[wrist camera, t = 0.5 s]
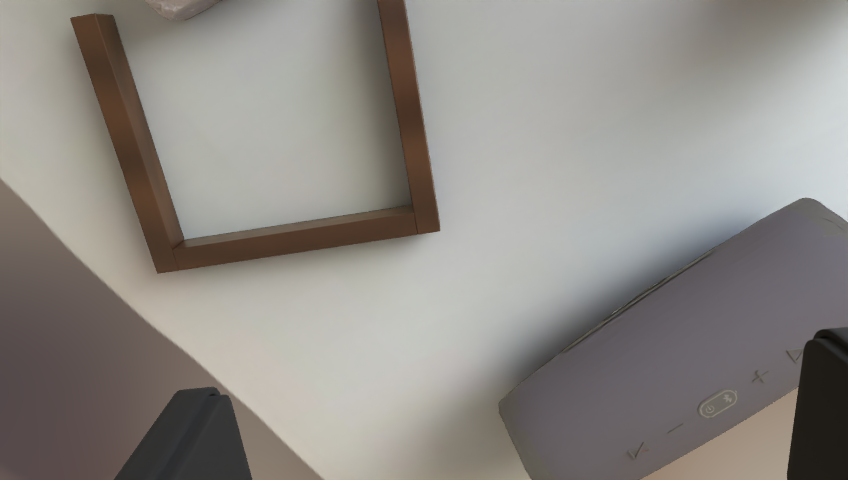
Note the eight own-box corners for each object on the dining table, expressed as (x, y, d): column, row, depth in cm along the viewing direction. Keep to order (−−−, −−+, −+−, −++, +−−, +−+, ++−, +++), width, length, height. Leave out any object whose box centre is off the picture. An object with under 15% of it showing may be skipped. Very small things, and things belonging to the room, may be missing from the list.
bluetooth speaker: (558, 444, 44) (594, 554, 34) (485, 364, 41) (503, 458, 32) (825, 274, 39) (953, 347, 30) (760, 173, 37) (876, 217, 27)
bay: (89, 19, 34) (69, 17, 32) (399, -36, 33) (397, -41, 31) (170, 262, 39) (157, 273, 37) (439, 222, 38) (440, 231, 36)
